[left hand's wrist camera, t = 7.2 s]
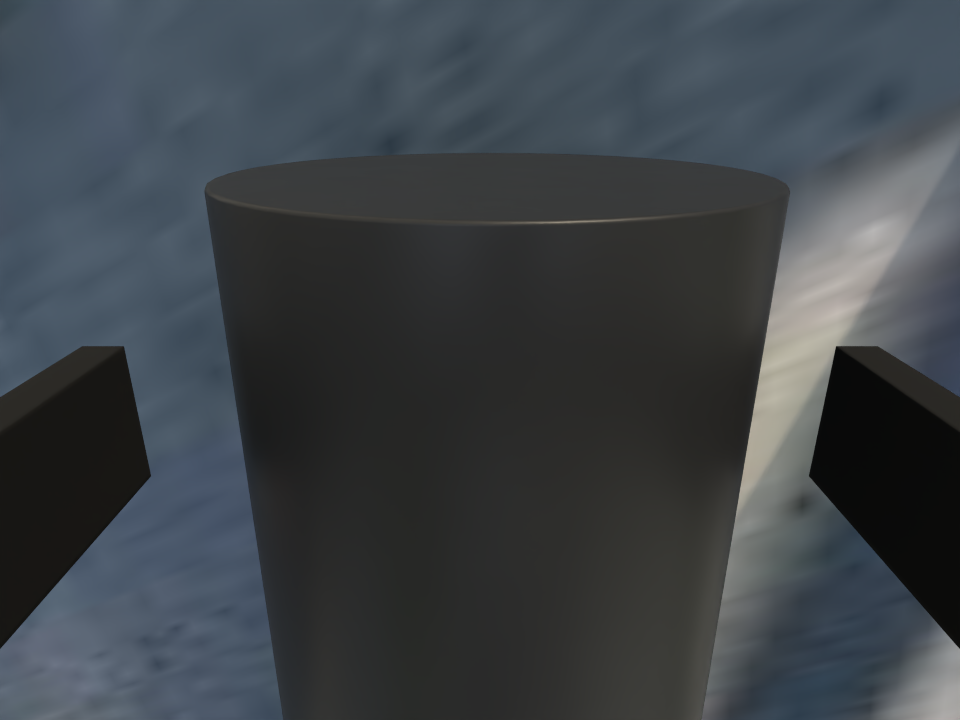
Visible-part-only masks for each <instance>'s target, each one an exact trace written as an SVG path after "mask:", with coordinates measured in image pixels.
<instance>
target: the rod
mask: <svg viewBox="0 0 960 720" xmlns="http://www.w3.org/2000/svg"><path fill="white" fill-rule="evenodd" d="M204 192H205V198H206V205H207V212H208V218H209V225H210V232H211V238H212V245H213V252H214V258H215V265H216V272H217V279H218V285H219V292H220V299H221V305H222V312H223V319H224V325H225V332H226V339H227V345H228V352H229V359H230V366H231V372H232V379H233V386H234V392H235V399H236V406H237V412H238V419H239V426H240V432H241V439H242V446H243V453H244V459H245V466H246V473H247V479H248V486H249V493H250V499H251V506H252V513H253V519H254V526H255V533H256V540H257V546H258V553H259V560H260V566H261V573H262V580H263V586H264V593H265V600H266V606H267V613H268V620H269V627H270V633H271V640H272V647H273V653H274V660H275V667H276V673H277V680H278V687H279V693H280V700H281V707H282V714H283V720H701V718H702V712H703V706H704V700H705V695H706V689H707V683H708V677H709V671H710V665H711V659H712V653H713V647H714V641H715V635H716V629H717V623H718V617H719V611H720V605H721V599H722V593H723V587H724V581H725V576H726V570H727V564H728V558H729V552H730V546H731V540H732V534H733V528H734V522H735V516H736V510H737V504H738V498H739V492H740V486H741V480H742V474H743V468H744V463H745V457H746V451H747V445H748V439H749V433H750V427H751V421H752V415H753V409H754V403H755V397H756V391H757V385H758V379H759V373H760V367H761V361H762V355H763V349H764V344H765V338H766V332H767V326H768V320H769V314H770V308H771V302H772V296H773V290H774V284H775V278H776V272H777V266H778V260H779V254H780V248H781V242H782V236H783V231H784V225H785V219H786V213H787V207H788V201H789V195H790V190H789V188H788V186H787V185H786V184H785V183H784V182H782V181H780V180H778V179H776V178H773V177H770V176H767V175H764V174H760V173H756V172H752V171H747V170H742V169H736V168H731V167H724V166H717V165H710V164H701V163H692V162H683V161H672V160H661V159H648V158H633V157H617V156H597V155H571V154H530V153H452V154H411V155H386V156H366V157H350V158H336V159H323V160H312V161H302V162H293V163H284V164H276V165H270V166H263V167H257V168H251V169H246V170H241V171H237V172H233V173H229V174H226V175H223V176H220V177H218V178H215V179H213V180H212V181H210V182H209V183H207V185H206V188H205V191H204Z"/></svg>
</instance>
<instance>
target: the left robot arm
mask: <svg viewBox="0 0 960 720" xmlns="http://www.w3.org/2000/svg"><path fill="white" fill-rule="evenodd" d="M150 477H151V474H150V469H149V464H148V459H147V455H146V450H145V445H144V440H143V436H142V431H141V426H140V421H139V417H138V412H137V407H136V402H135V397H134V393H133V388H132V383H131V378H130V374H129V369H128V364H127V359H126V354H125V350H124V346H82V347H80V348H79V349H77V350H76V351H74V352H72V353H71V354H69V355H68V356H66V357H64V358H63V359H61V360H60V361H58V362H56V363H55V364H53V365H52V366H50V367H48V368H47V369H45V370H43V371H42V372H40V373H39V374H37V375H35V376H34V377H32V378H31V379H29V380H27V381H26V382H24V383H23V384H21V385H19V386H18V387H16V388H15V389H13V390H11V391H10V392H8V393H6V394H5V395H3V396H2V397H0V648H1V647H2V646H3V645H4V644H5V643H6V642H7V640H8V639H9V638H10V637H11V636H12V635H13V634H14V632H15V631H16V630H17V629H18V628H19V627H20V626H21V624H22V623H23V622H24V621H25V620H26V619H27V618H28V616H29V615H30V614H31V613H32V612H33V611H34V609H35V608H36V607H37V606H38V605H39V604H40V603H41V601H42V600H43V599H44V598H45V597H46V596H47V595H48V593H49V592H50V591H51V590H52V589H53V588H54V587H55V585H56V584H57V583H58V582H59V581H60V580H61V579H62V577H63V576H64V575H65V574H66V573H67V572H68V571H69V569H70V568H71V567H72V566H73V565H74V564H75V563H76V561H77V560H78V559H79V558H80V557H81V556H82V555H83V553H84V552H85V551H86V550H87V549H88V548H89V547H90V545H91V544H92V543H93V542H94V541H95V540H96V538H97V537H98V536H99V535H100V534H101V533H102V532H103V530H104V529H105V528H106V527H107V526H108V525H109V524H110V522H111V521H112V520H113V519H114V518H115V517H116V516H117V514H118V513H119V512H120V511H121V510H122V509H123V508H124V506H125V505H126V504H127V503H128V502H129V501H130V500H131V498H132V497H133V496H134V495H135V494H136V493H137V492H138V490H139V489H140V488H141V487H142V486H143V485H144V484H145V482H146V481H147V480H148V479H149V478H150ZM809 477H810V478H811V479H812V480H813V481H814V482H815V484H816V485H817V486H818V487H819V488H820V489H821V490H822V492H823V493H824V494H825V495H826V496H827V497H828V498H829V500H830V501H831V502H832V503H833V504H834V505H835V506H836V508H837V509H838V510H839V511H840V512H841V513H842V514H843V516H844V517H845V518H846V519H847V520H848V521H849V522H850V524H851V525H852V526H853V527H854V528H855V529H856V530H857V532H858V533H859V534H860V535H861V536H862V537H863V538H864V540H865V541H866V542H867V543H868V544H869V545H870V547H871V548H872V549H873V550H874V551H875V552H876V553H877V555H878V556H879V557H880V558H881V559H882V560H883V561H884V563H885V564H886V565H887V566H888V567H889V568H890V569H891V571H892V572H893V573H894V574H895V575H896V576H897V577H898V579H899V580H900V581H901V582H902V583H903V584H904V585H905V587H906V588H907V589H908V590H909V591H910V592H911V593H912V595H913V596H914V597H915V598H916V599H917V600H918V601H919V603H920V604H921V605H922V606H923V607H924V608H925V609H926V611H927V612H928V613H929V614H930V615H931V616H932V618H933V619H934V620H935V621H936V622H937V623H938V624H939V626H940V627H941V628H942V629H943V630H944V631H945V632H946V634H947V635H948V636H949V637H950V638H951V639H952V640H953V642H954V643H955V644H956V645H957V646H958V647H959V648H960V397H958V396H957V395H955V394H954V393H952V392H950V391H949V390H947V389H945V388H944V387H942V386H941V385H939V384H937V383H936V382H934V381H933V380H931V379H929V378H928V377H926V376H925V375H923V374H921V373H920V372H918V371H917V370H915V369H913V368H912V367H910V366H908V365H907V364H905V363H904V362H902V361H900V360H899V359H897V358H896V357H894V356H892V355H891V354H889V353H888V352H886V351H884V350H883V349H881V348H880V347H878V346H836V350H835V354H834V359H833V364H832V369H831V374H830V378H829V383H828V388H827V393H826V397H825V402H824V407H823V412H822V416H821V421H820V426H819V431H818V436H817V440H816V445H815V450H814V455H813V459H812V464H811V469H810V474H809Z"/></svg>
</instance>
